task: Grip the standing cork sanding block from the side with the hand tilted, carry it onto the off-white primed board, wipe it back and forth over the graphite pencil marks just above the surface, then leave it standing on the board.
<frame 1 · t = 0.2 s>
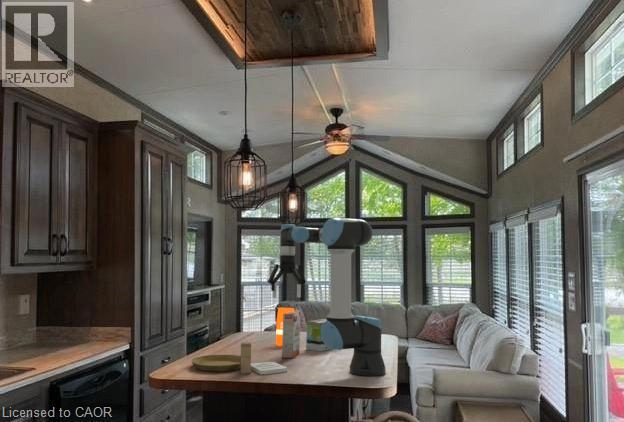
hand: (286, 297, 245), 28 cm above the table, tool pointing down, fingers open, 13 cm apart
sanding block: (245, 372, 204), on the table
tea box: (321, 349, 259), on the table
orange juice: (285, 345, 269), on the table
cracker box: (291, 356, 239), on the table
plant saucer: (219, 367, 214), on the table
board: (267, 369, 209), on the table
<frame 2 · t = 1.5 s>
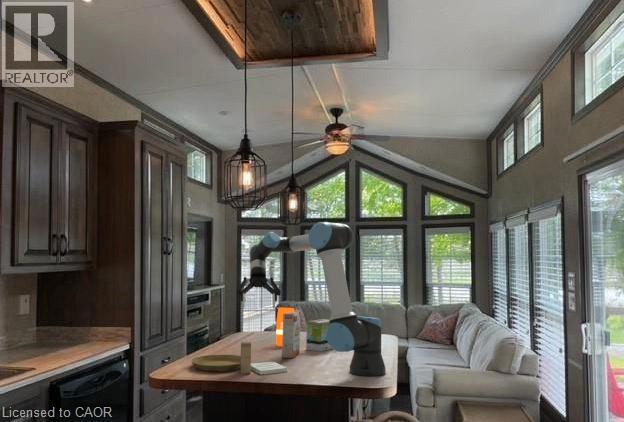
hand: (259, 306, 219), 26 cm above the table, tool tilted 45°, fingers open, 13 cm apart
nothing on the table moved.
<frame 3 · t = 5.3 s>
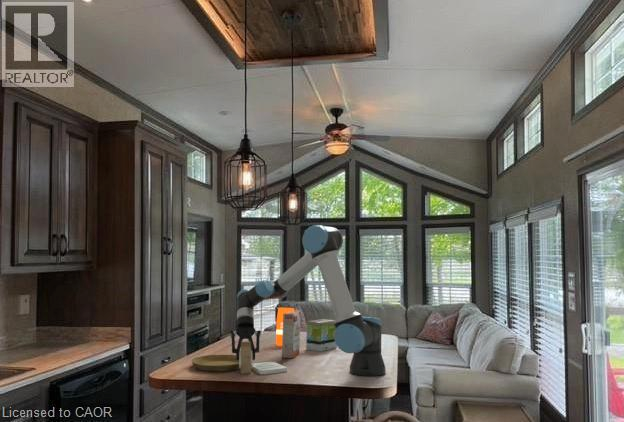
hand: (245, 366, 201), 3 cm above the table, tool tilted 45°, fingers closed on sanding block, 4 cm apart
sanding block: (245, 372, 204), on the table, touching gripper
everything else where it was.
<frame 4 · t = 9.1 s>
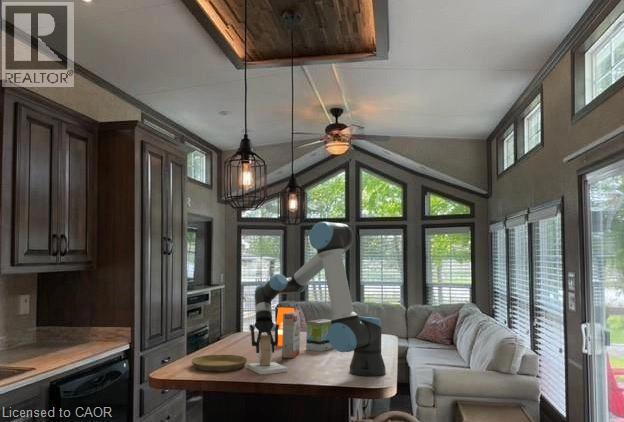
hand: (265, 358, 208), 5 cm above the table, tool tilted 45°, fingers closed on sanding block, 4 cm apart
sanding block: (264, 364, 211), point 2 cm above the table, touching gripper
everything else where it was.
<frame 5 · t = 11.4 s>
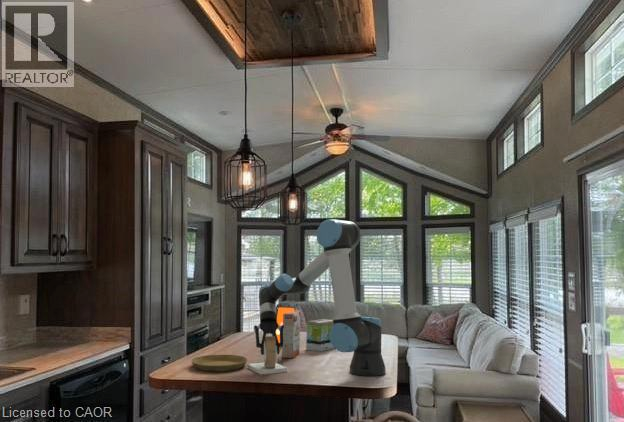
hand: (270, 360, 203), 5 cm above the table, tool tilted 45°, fingers closed on sanding block, 4 cm apart
sanding block: (269, 366, 207), point 2 cm above the table, touching gripper
everything else where it was.
when the fingers open (5 cm above the table, at t = 12.8 s): sanding block stays where it is, resting on board.
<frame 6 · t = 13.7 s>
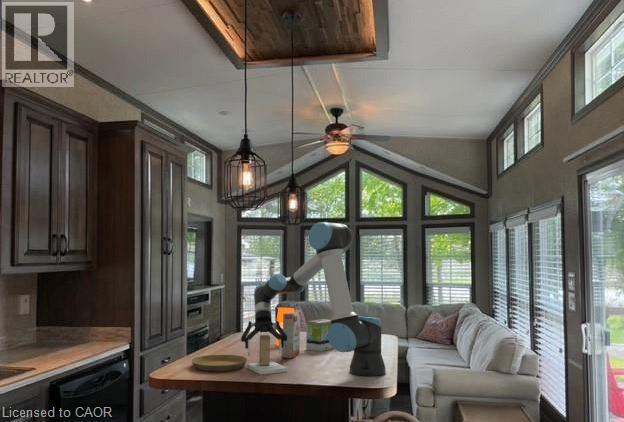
hand: (264, 354, 210), 6 cm above the table, tool tilted 45°, fingers open, 13 cm apart
sanding block: (264, 364, 212), point 2 cm above the table, touching board
everything else where it was.
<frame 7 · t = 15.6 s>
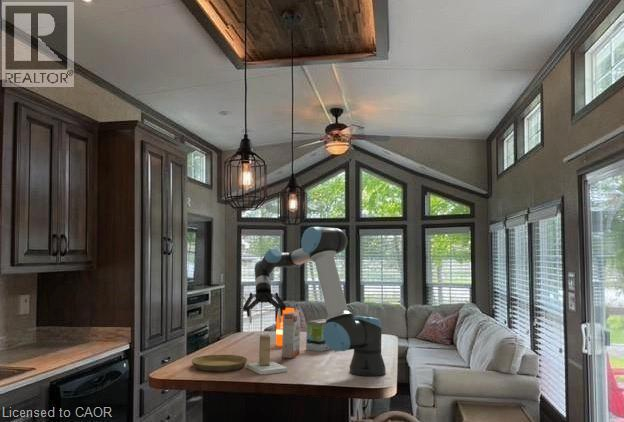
hand: (265, 321, 226), 18 cm above the table, tool tilted 45°, fingers open, 13 cm apart
nothing on the table moved.
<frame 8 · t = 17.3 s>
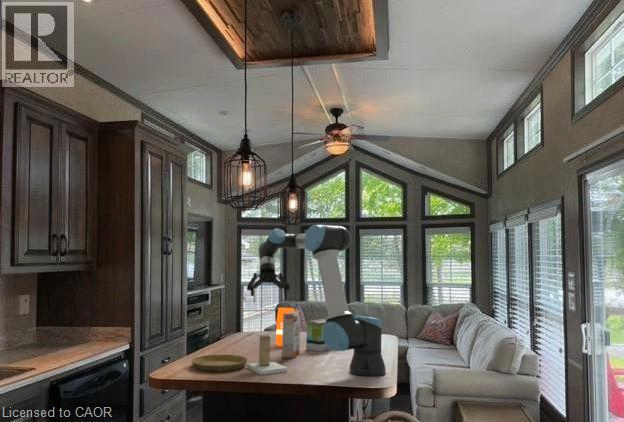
hand: (269, 300, 228), 28 cm above the table, tool tilted 45°, fingers open, 13 cm apart
nothing on the table moved.
at the end: sanding block inside the target area (3.0 cm from its centre), point 1.7 cm above the table; sanding block tilted 0°; sanding block moved 10.6 cm from its start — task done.
